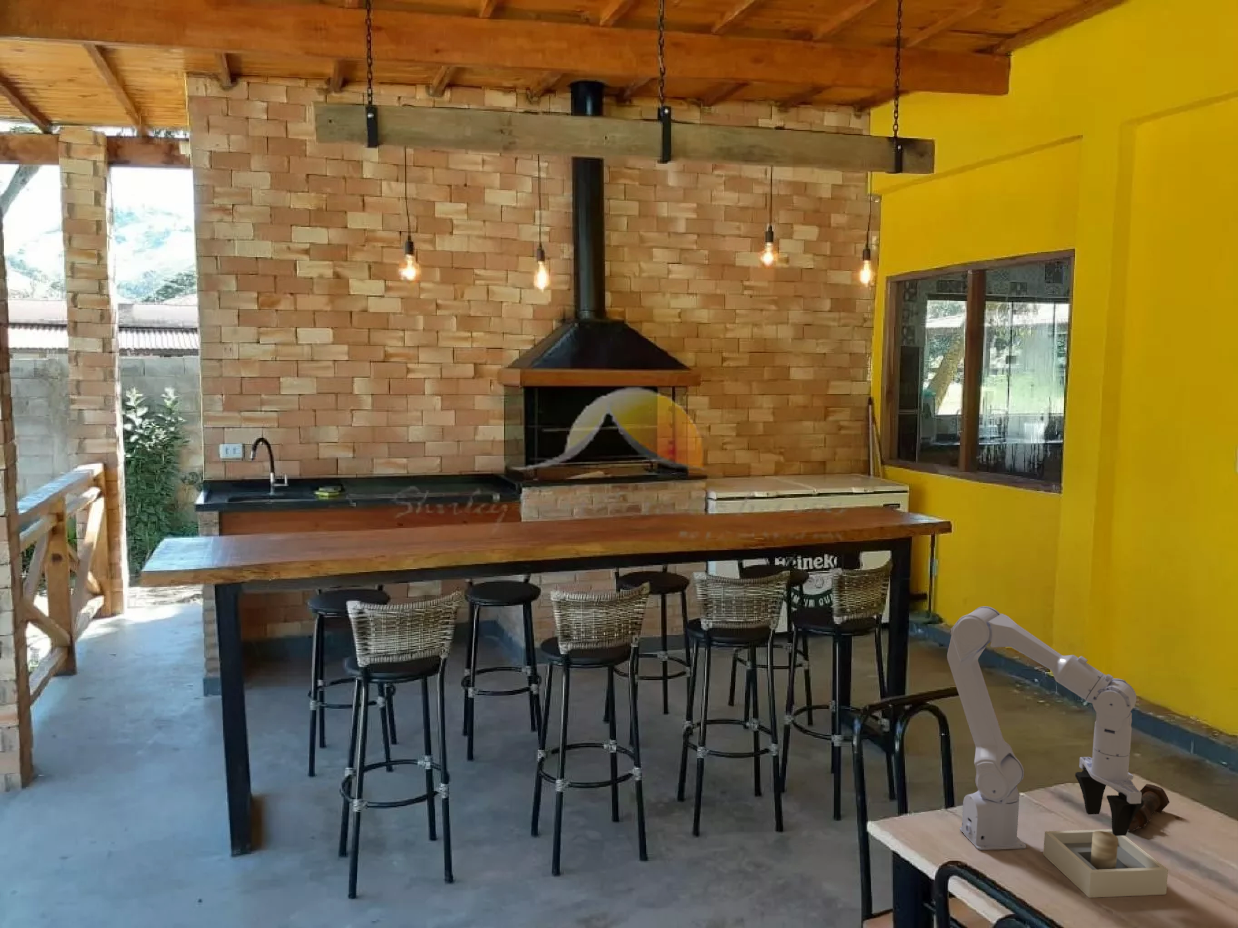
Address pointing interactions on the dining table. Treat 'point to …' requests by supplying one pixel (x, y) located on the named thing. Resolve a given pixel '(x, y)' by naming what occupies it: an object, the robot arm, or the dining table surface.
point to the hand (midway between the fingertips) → (1105, 823)
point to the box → (1128, 879)
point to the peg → (1104, 850)
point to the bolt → (1149, 805)
